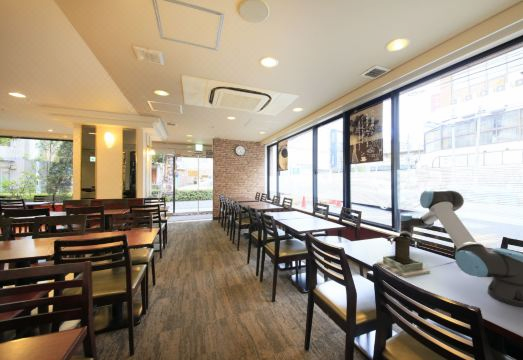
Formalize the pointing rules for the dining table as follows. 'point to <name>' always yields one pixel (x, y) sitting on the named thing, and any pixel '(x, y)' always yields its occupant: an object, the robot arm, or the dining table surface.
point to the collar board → (403, 267)
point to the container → (402, 250)
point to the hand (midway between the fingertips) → (403, 244)
